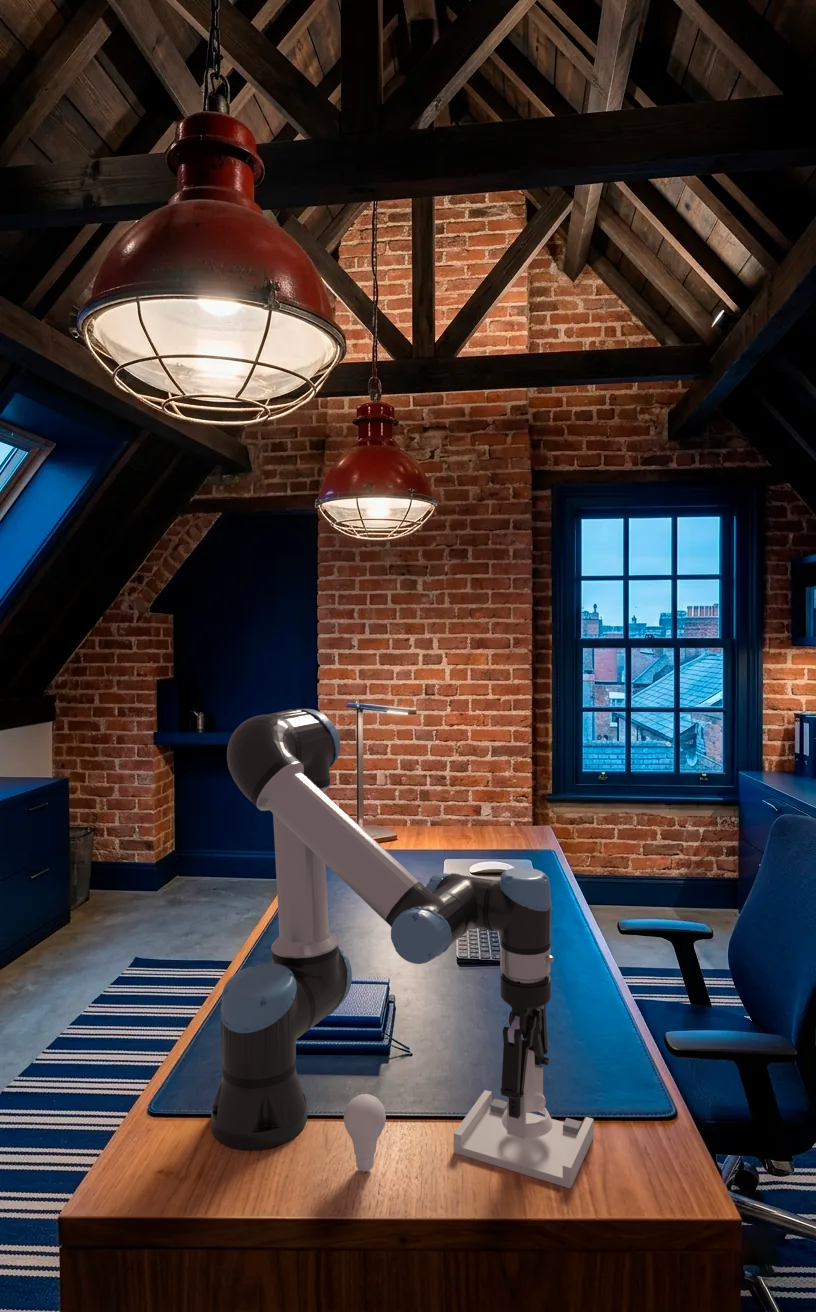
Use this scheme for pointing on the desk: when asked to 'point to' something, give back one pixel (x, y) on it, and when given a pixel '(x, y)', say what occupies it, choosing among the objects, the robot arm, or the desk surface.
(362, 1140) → the lightbulb
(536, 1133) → the hook
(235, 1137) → the robot arm
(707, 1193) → the desk surface
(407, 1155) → the desk surface
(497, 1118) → the panel
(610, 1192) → the desk surface
